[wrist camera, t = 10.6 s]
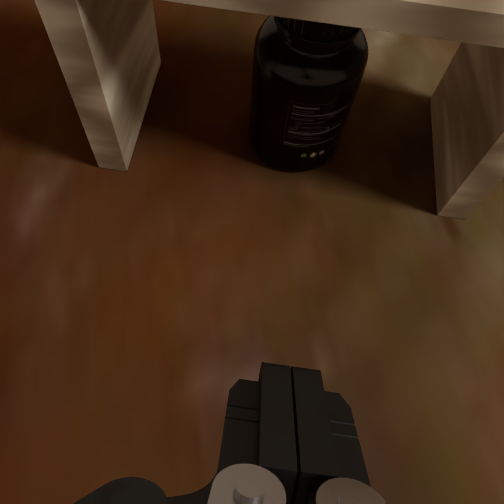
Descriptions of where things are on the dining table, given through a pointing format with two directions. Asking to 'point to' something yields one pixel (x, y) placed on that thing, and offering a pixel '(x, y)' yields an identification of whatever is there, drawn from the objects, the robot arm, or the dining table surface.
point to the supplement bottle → (303, 90)
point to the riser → (304, 8)
